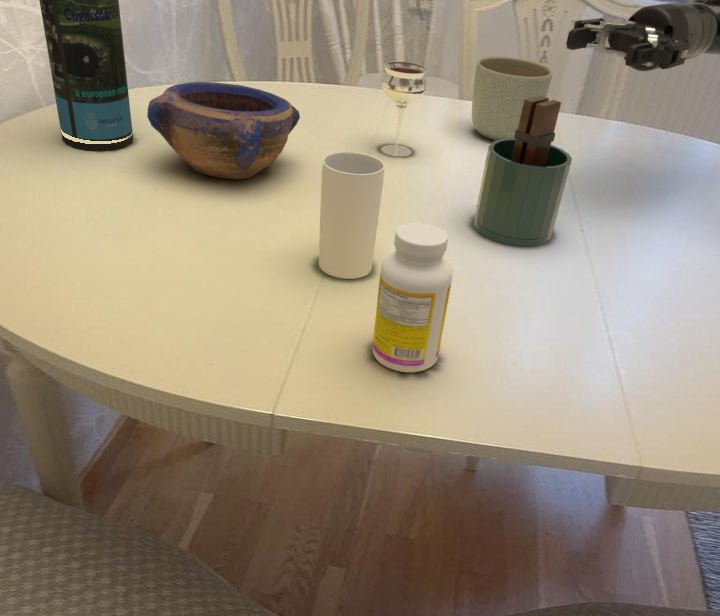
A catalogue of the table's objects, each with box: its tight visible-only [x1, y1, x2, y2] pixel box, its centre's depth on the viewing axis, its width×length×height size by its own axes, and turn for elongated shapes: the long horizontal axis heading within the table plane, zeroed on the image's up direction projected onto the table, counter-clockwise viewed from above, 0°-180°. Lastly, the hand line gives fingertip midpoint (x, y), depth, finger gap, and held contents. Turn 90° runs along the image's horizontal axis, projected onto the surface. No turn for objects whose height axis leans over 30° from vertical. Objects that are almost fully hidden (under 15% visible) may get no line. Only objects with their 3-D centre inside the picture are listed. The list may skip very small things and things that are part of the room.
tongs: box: [511, 96, 562, 167], centre depth 96 cm, size 4×4×15 cm
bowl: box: [146, 81, 301, 180], centre depth 105 cm, size 18×18×10 cm
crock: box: [473, 138, 573, 247], centre depth 98 cm, size 10×10×10 cm
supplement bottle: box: [372, 222, 453, 373], centre depth 71 cm, size 7×7×13 cm
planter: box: [471, 55, 553, 141], centre depth 127 cm, size 12×12×11 cm
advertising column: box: [38, 0, 134, 153], centre depth 102 cm, size 11×11×30 cm
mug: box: [318, 151, 386, 280], centre depth 86 cm, size 10×7×12 cm, turn 157°
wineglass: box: [380, 60, 429, 157], centre depth 116 cm, size 7×7×12 cm
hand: (599, 48), depth 93 cm, fingers open, 8 cm apart
